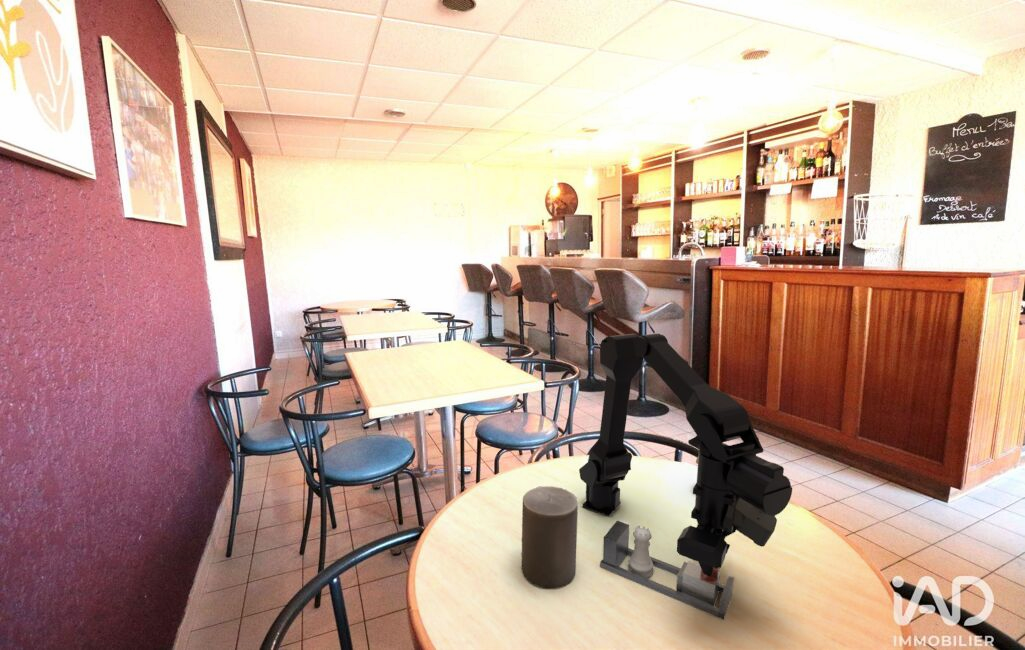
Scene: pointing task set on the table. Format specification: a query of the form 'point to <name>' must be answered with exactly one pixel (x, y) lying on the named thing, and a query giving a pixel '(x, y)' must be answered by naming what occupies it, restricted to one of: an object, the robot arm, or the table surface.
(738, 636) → the table surface
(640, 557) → the rook chess piece
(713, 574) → the ram
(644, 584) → the press bed
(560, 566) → the pillar candle
